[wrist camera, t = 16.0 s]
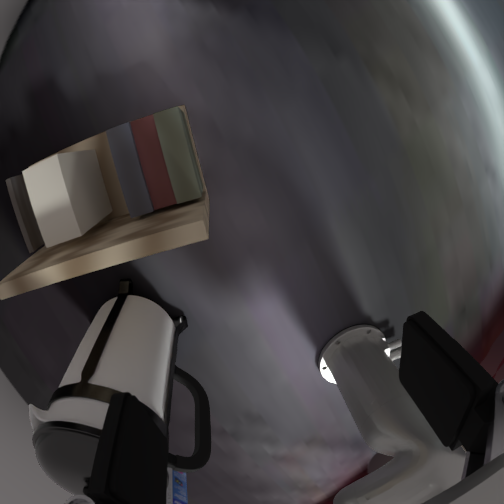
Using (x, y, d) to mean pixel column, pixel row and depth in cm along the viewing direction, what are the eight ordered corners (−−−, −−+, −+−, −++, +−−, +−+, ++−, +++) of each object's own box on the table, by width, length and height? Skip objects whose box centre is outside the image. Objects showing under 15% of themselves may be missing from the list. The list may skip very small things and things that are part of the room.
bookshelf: (185, 106, 33) (166, 81, 18) (209, 200, 37) (208, 238, 23) (34, 165, 32) (-41, 185, 17) (60, 246, 36) (1, 299, 22)
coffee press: (105, 364, 44) (59, 527, 16) (82, 277, 38) (-29, 447, 10) (208, 366, 46) (220, 549, 18) (201, 274, 40) (200, 497, 12)
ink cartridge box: (159, 477, 58) (157, 524, 44) (143, 468, 56) (139, 517, 42) (188, 469, 57) (189, 519, 44) (172, 460, 55) (171, 512, 42)
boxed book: (94, 149, 31) (57, 153, 22) (112, 211, 34) (81, 235, 25) (64, 161, 31) (22, 171, 22) (82, 221, 34) (46, 248, 25)
